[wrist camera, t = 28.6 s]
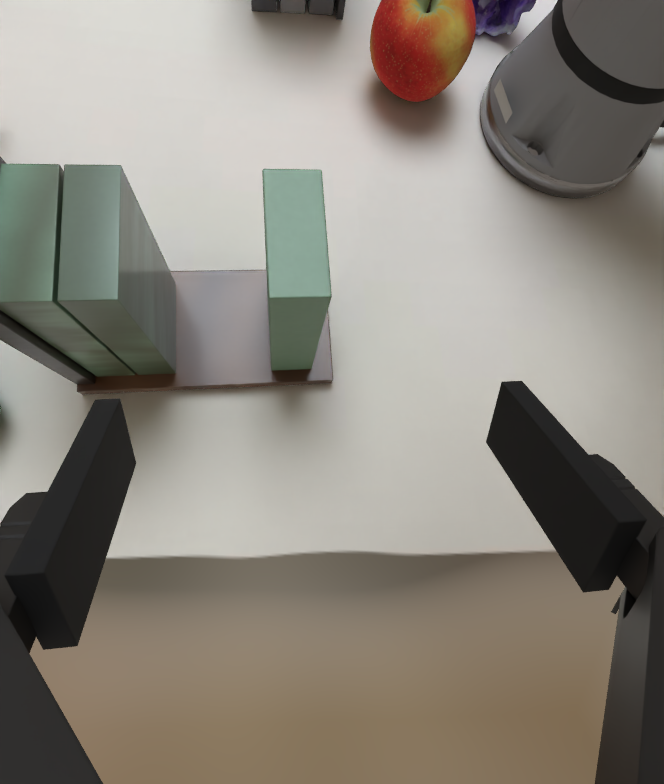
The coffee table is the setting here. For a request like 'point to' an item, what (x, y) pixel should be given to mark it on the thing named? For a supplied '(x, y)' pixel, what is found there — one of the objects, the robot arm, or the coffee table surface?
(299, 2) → the grey books
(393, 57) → the apple
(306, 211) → the green book
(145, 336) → the book rack
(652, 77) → the robot arm
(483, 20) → the flower
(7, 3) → the coffee table surface
